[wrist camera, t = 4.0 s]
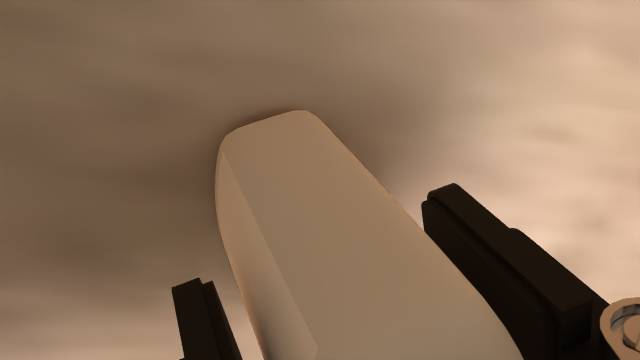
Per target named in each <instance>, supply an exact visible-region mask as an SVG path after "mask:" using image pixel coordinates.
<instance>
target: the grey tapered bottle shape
mask: <svg viewBox="0 0 640 360" xmlns="http://www.w3.org/2000/svg"><path fill="white" fill-rule="evenodd" d="M215 204H216V213H217V220H218V225H219V230H220V234H221V238H222V241H223V244H224V248H225V251H226V253H227V256H228V259H229V262H230V265H231V268H232V270H233V273H234V276H235V279H236V282H237V284H238V287H239V290H240V293H241V296H242V298H243V301H244V304H245V307H246V310H247V313H248V315H249V318H250V321H251V324H252V327H253V329H254V332H255V335H256V338H257V341H258V344H259V346H260V349H261V352H262V355H263V358H264V360H524V359H523V357H522V355H521V353H520V351H519V349H518V348H517V346H516V344H515V343H514V341H513V339H512V338H511V336H510V334H509V333H508V331H507V329H506V328H505V326H504V325H503V324H502V322H501V321H500V320H499V318H498V317H497V315H496V314H495V313H494V311H493V310H492V309H491V307H490V306H489V305H488V303H487V302H486V301H485V299H484V298H483V297H482V296H481V295H480V293H479V292H478V291H477V290H476V289H475V288H474V287H473V285H472V284H471V283H470V282H469V281H468V280H467V279H466V278H465V276H464V275H463V274H462V273H461V272H460V271H459V270H458V269H457V267H456V266H455V265H454V264H453V263H452V262H451V261H450V259H449V258H448V257H447V256H446V255H445V254H444V253H443V252H442V250H441V249H440V248H439V247H438V246H437V245H436V244H435V243H434V241H433V240H432V239H431V238H430V237H429V236H428V235H427V234H426V233H425V232H424V231H423V230H422V228H421V227H420V226H419V225H418V224H417V223H416V222H415V221H414V220H413V219H412V218H411V217H410V215H409V214H408V213H407V212H406V211H405V210H404V209H403V208H402V207H401V206H400V205H399V203H398V202H397V201H396V200H395V199H394V198H393V197H392V196H391V195H390V194H389V193H388V192H387V190H386V189H385V188H384V187H383V186H382V185H381V184H380V183H379V182H378V181H377V180H376V178H375V177H374V176H373V175H372V174H371V173H370V172H369V171H368V170H367V169H366V168H365V167H364V166H363V165H362V163H361V162H360V161H359V160H358V159H357V158H356V157H355V156H354V155H353V154H352V153H351V152H350V151H349V150H348V148H347V147H346V146H345V145H344V144H343V143H342V142H341V141H340V140H339V139H338V138H337V137H336V136H335V135H334V133H333V132H332V131H331V130H330V129H329V128H328V127H327V126H326V125H325V124H324V123H323V122H322V121H321V120H320V119H319V118H318V117H317V116H316V115H314V114H312V113H310V112H309V111H307V110H293V111H290V112H286V113H283V114H279V115H276V116H273V117H269V118H266V119H263V120H260V121H257V122H254V123H251V124H248V125H245V126H242V127H239V128H237V129H235V130H234V131H232V132H231V133H229V134H227V135H226V136H225V138H224V140H223V142H222V143H221V145H220V148H219V152H218V157H217V164H216V173H215Z"/></svg>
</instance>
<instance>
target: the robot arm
mask: <svg viewBox="0 0 640 360" xmlns="http://www.w3.org/2000/svg"><path fill="white" fill-rule="evenodd" d="M421 209H422V217H423V225H424V232H425V233H426V234H427V235H428V236H429V237H430V238H431V239H432V240H433V241H434V243H435V244H436V245H437V246H438V247H439V248H440V249H441V250H442V252H443V253H444V254H445V255H446V256H447V257H448V258H449V259H450V261H451V262H452V263H453V264H454V265H455V266H456V267H457V269H458V270H459V271H460V272H461V273H462V274H463V275H464V276H465V278H466V279H467V280H468V281H469V282H470V283H471V284H472V285H473V287H474V288H475V289H476V290H477V291H478V292H479V293H480V295H481V296H482V297H483V298H484V299H485V301H486V302H487V303H488V305H489V306H490V307H491V309H492V310H493V311H494V313H495V314H496V315H497V317H498V318H499V320H500V321H501V322H502V324H503V325H504V326H505V328H506V329H507V331H508V333H509V334H510V336H511V338H512V339H513V341H514V343H515V344H516V346H517V348H518V349H519V351H520V353H521V355H522V357H523V359H524V360H640V297H636V298H626V299H622V300H619V301H617V302H614V303H612V304H611V305H610V304H609V303H607V302H606V301H605V300H604V299H602V298H601V297H600V296H599V295H598V294H596V293H595V292H594V291H593V290H592V289H590V288H589V287H588V286H587V285H586V284H584V283H583V282H582V281H581V280H580V279H578V278H577V277H576V276H575V275H574V274H572V273H571V272H570V271H569V270H568V269H566V268H565V267H564V266H563V265H561V264H560V263H559V262H558V261H557V260H555V259H554V258H553V257H552V256H551V255H549V254H548V253H547V252H546V251H545V250H543V249H542V248H541V247H540V246H539V245H537V244H536V243H535V242H534V241H533V240H531V239H530V238H529V237H528V236H527V235H525V234H524V233H523V232H521V231H520V230H518V229H515V228H508V227H507V226H506V225H505V224H504V223H503V222H501V221H500V220H499V219H498V218H497V217H495V216H494V215H493V214H492V213H491V212H490V211H488V210H487V209H486V208H485V207H484V206H482V205H481V204H480V203H479V202H478V201H477V200H475V199H474V198H473V197H472V196H471V195H469V194H468V193H467V192H466V191H465V190H464V189H462V188H461V187H460V186H459V185H457V184H456V183H452V184H449V185H446V186H444V187H441V188H438V189H436V190H433V191H430V192H429V193H428V196H427V200H426V201H424V202H422V205H421ZM172 295H173V300H174V305H175V311H176V316H177V321H178V326H179V332H180V337H181V342H182V347H183V352H184V358H182V359H180V360H243V359H242V357H241V354H240V351H239V349H238V346H237V343H236V341H235V338H234V336H233V333H232V330H231V328H230V325H229V322H228V320H227V317H226V314H225V312H224V309H223V307H222V304H221V301H220V299H219V296H218V293H217V291H216V288H215V286H214V283H213V281H210V282H207V283H205V284H202V282H201V280H200V278H196V279H194V280H191V281H188V282H185V283H183V284H180V285H177V286H175V287H172Z"/></svg>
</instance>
